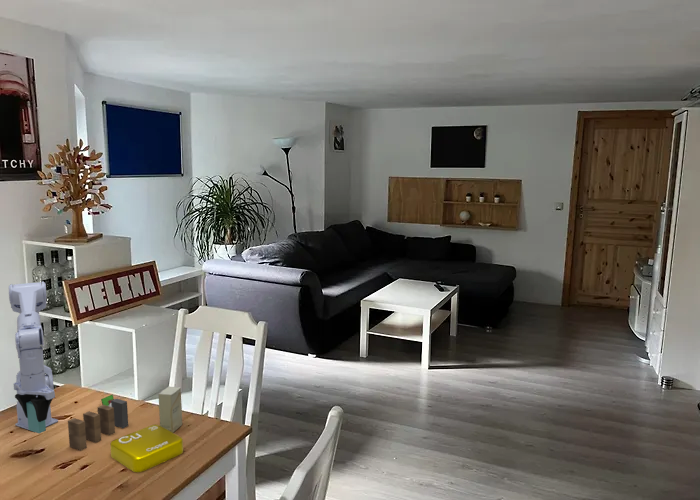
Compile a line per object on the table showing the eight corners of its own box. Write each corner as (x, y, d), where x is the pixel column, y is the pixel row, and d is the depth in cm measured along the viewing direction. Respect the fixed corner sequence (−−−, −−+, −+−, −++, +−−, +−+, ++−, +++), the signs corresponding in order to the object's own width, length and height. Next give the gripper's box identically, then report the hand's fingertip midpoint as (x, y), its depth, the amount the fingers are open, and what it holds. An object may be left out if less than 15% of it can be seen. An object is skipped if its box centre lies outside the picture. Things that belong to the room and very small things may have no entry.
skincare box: (172, 433, 169) (171, 395, 167) (159, 432, 170) (157, 393, 168) (183, 424, 175) (181, 387, 173) (170, 422, 176) (168, 385, 174)
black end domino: (112, 425, 173) (111, 400, 172) (117, 422, 175) (116, 398, 174) (123, 428, 172) (121, 403, 170) (128, 425, 173) (126, 401, 172)
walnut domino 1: (69, 447, 160) (67, 420, 159) (75, 444, 162) (73, 417, 161) (80, 450, 158) (78, 424, 157) (86, 447, 160) (84, 421, 159)
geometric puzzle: (89, 410, 179) (98, 394, 176) (108, 402, 185) (117, 386, 181) (102, 427, 177) (111, 411, 173) (120, 418, 183) (129, 403, 179)
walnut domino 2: (84, 439, 165) (83, 413, 163) (90, 436, 166) (88, 411, 165) (95, 443, 163) (93, 417, 161) (101, 440, 164) (99, 414, 163)
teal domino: (28, 429, 156) (26, 402, 155) (35, 426, 158) (33, 400, 156) (39, 433, 154) (36, 406, 153) (45, 430, 156) (43, 403, 155)
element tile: (136, 475, 147) (136, 458, 146) (108, 456, 156) (107, 440, 155) (186, 453, 158) (185, 437, 158) (156, 436, 168) (155, 421, 167)
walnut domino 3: (99, 432, 169) (97, 407, 168) (104, 429, 171) (103, 404, 170) (109, 435, 167) (108, 410, 166) (115, 432, 169) (113, 407, 168)
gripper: (1, 371, 153) (5, 418, 155) (35, 381, 146) (39, 430, 149) (25, 363, 159) (29, 408, 161) (60, 372, 153) (63, 419, 155)
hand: (36, 418), depth 155 cm, fingers closed on teal domino, 4 cm apart
